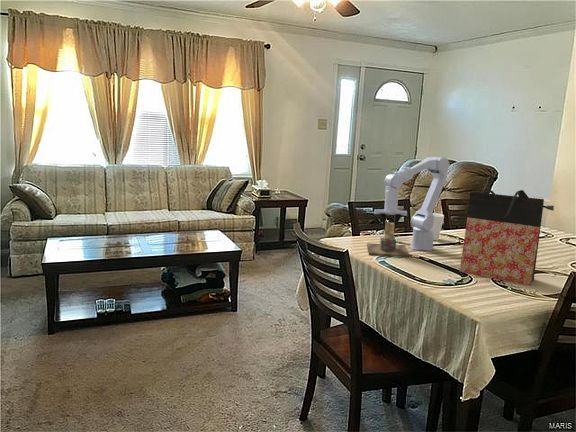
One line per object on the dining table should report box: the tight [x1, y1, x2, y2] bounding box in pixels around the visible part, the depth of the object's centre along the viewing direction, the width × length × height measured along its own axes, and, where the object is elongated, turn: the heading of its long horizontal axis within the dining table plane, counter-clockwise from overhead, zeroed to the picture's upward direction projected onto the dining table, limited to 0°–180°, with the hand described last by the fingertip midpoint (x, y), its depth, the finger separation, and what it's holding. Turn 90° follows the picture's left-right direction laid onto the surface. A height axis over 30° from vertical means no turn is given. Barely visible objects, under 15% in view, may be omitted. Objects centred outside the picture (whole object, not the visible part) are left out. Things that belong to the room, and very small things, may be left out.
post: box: [382, 221, 395, 241], centre depth 213 cm, size 4×4×8 cm
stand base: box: [366, 237, 411, 258], centre depth 215 cm, size 18×18×6 cm
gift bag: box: [459, 188, 555, 287], centre depth 179 cm, size 29×14×35 cm, turn 56°
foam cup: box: [430, 212, 445, 241], centre depth 241 cm, size 10×9×13 cm
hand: (389, 230), depth 213 cm, fingers closed on post, 4 cm apart
